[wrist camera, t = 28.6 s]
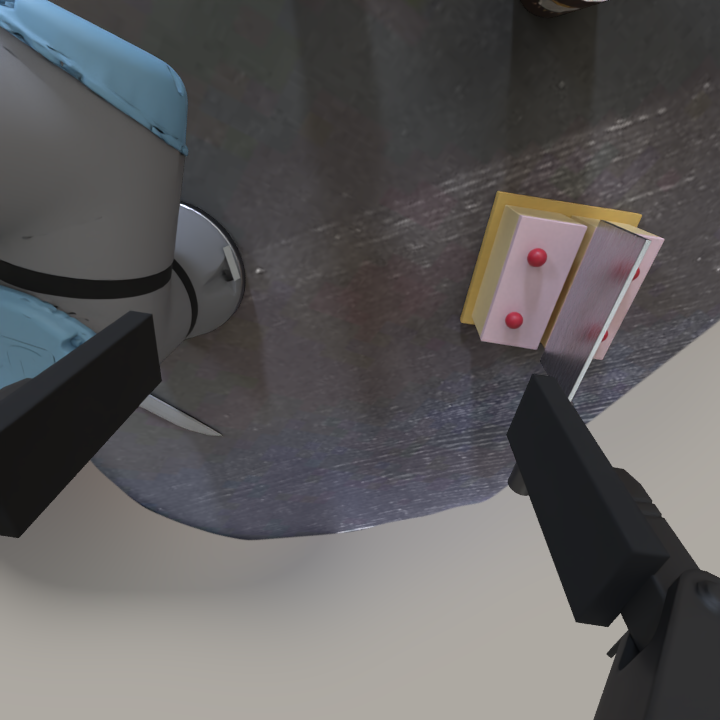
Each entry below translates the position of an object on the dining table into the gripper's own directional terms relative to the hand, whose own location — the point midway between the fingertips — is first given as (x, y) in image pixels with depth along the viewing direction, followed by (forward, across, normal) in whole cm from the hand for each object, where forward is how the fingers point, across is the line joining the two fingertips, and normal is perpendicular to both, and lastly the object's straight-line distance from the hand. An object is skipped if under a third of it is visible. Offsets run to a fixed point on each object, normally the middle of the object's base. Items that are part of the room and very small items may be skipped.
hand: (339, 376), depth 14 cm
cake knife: (+23, +19, -9) cm, 31 cm away
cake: (+31, +19, -3) cm, 37 cm away
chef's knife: (+32, -26, -30) cm, 51 cm away
